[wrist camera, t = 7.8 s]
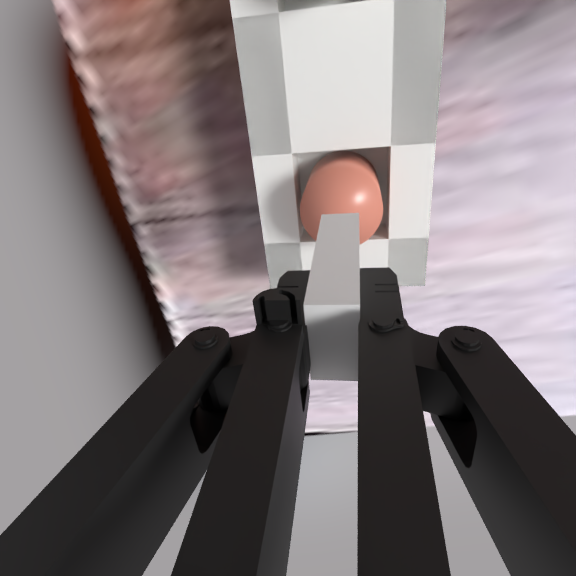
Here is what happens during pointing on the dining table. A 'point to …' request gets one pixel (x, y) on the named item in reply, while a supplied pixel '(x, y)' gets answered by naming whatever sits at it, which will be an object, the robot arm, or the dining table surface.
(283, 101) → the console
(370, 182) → the salmon rounded knob
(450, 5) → the dining table surface
